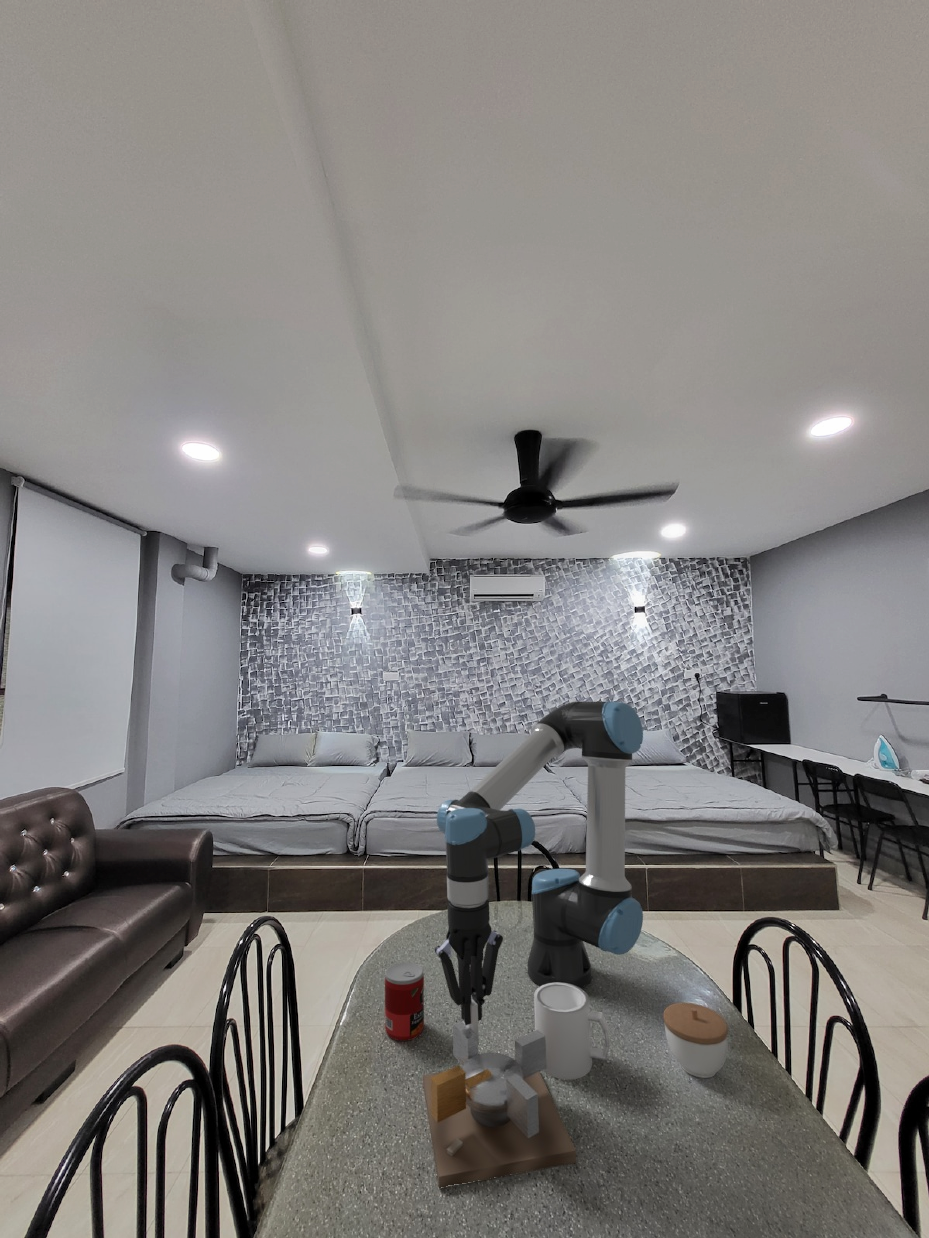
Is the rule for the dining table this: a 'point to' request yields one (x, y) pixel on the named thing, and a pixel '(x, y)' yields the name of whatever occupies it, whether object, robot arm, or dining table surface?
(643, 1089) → the dining table surface
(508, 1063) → the silver spoked hub
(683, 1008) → the lidded jar
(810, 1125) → the dining table surface
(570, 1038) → the mug
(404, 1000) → the canned food
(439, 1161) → the wooden base plate
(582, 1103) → the dining table surface
